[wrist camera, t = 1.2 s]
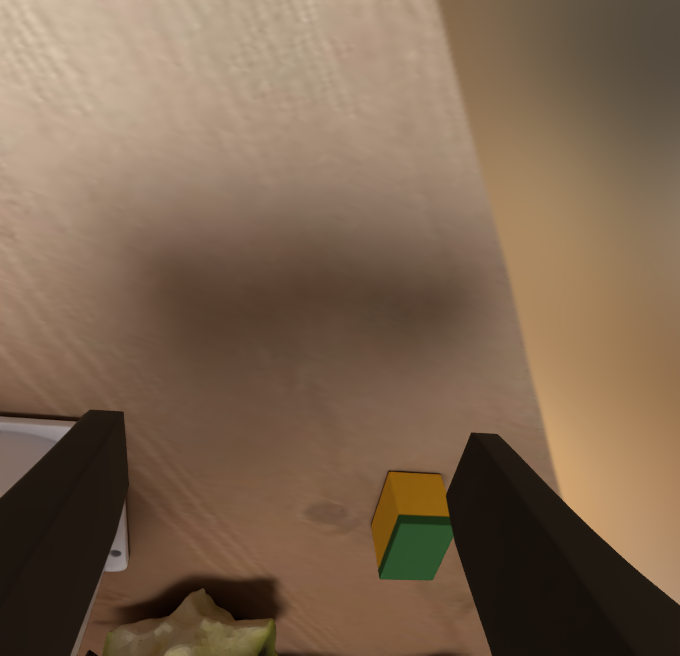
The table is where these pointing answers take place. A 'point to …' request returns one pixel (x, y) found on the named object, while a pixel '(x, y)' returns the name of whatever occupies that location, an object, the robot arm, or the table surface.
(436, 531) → the sponge
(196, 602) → the fruit
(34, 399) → the table surface
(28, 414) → the table surface
